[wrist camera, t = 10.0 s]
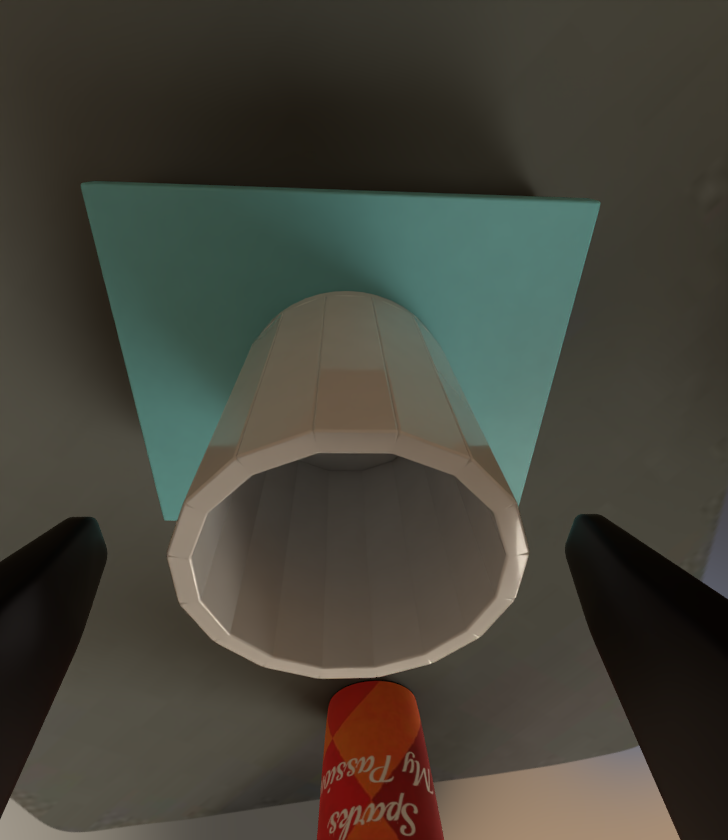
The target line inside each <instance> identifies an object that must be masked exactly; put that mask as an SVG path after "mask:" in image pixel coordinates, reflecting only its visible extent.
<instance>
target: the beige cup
mask: <svg viewBox="0 0 728 840" xmlns="http://www.w3.org/2000/svg"><path fill="white" fill-rule="evenodd" d="M528 557H529V546H528V542H527V538H526V534H525V531H524V527H523V523H522V519H521V515H520V511H519V508H518V504H517V501H516V499H515V497H514V495H513V493H512V491H511V489H510V487H509V485H508V483H507V481H506V479H505V477H504V475H503V473H502V471H501V469H500V467H499V465H498V462H497V460H496V458H495V456H494V454H493V452H492V450H491V448H490V446H489V444H488V442H487V440H486V438H485V436H484V434H483V432H482V430H481V428H480V426H479V424H478V421H477V419H476V417H475V415H474V413H473V411H472V409H471V407H470V405H469V403H468V401H467V399H466V397H465V395H464V393H463V391H462V389H461V387H460V385H459V382H458V380H457V378H456V376H455V374H454V372H453V370H452V368H451V366H450V364H449V362H448V360H447V358H446V356H445V354H444V352H443V350H442V348H441V346H440V344H439V343H438V342H437V341H436V340H435V338H434V337H433V335H432V334H431V332H430V331H429V330H428V328H427V327H426V326H425V325H424V324H423V323H422V322H421V321H420V320H419V319H418V318H417V317H416V316H415V315H414V314H412V313H411V312H410V311H408V310H407V309H405V308H404V307H402V306H401V305H399V304H397V303H395V302H393V301H391V300H388V299H386V298H383V297H380V296H378V295H373V294H369V293H364V292H355V291H335V292H328V293H323V294H318V295H315V296H312V297H308V298H305V299H303V300H301V301H299V302H297V303H295V304H292V305H291V306H289V307H288V308H286V309H285V310H283V311H282V312H280V313H279V314H278V315H277V316H276V317H274V318H273V319H272V320H271V321H270V322H269V323H268V324H267V325H266V327H265V328H264V329H263V330H262V331H261V333H260V334H259V336H258V338H257V339H256V340H255V341H254V342H253V344H252V346H251V348H250V350H249V353H248V355H247V357H246V360H245V362H244V364H243V366H242V369H241V371H240V373H239V376H238V378H237V380H236V383H235V385H234V387H233V389H232V392H231V394H230V396H229V399H228V401H227V403H226V406H225V408H224V410H223V412H222V415H221V417H220V419H219V422H218V424H217V426H216V429H215V431H214V433H213V435H212V438H211V440H210V442H209V445H208V447H207V449H206V452H205V454H204V456H203V458H202V461H201V463H200V465H199V468H198V470H197V472H196V475H195V477H194V479H193V481H192V484H191V486H190V488H189V491H188V493H187V495H186V498H185V500H184V502H183V505H182V508H181V511H180V514H179V517H178V519H177V522H176V525H175V528H174V531H173V534H172V537H171V540H170V543H169V546H168V549H167V560H168V564H169V568H170V572H171V576H172V580H173V583H174V587H175V591H176V595H177V599H178V602H179V603H180V606H181V607H182V608H183V609H184V610H185V611H186V612H187V613H188V614H189V615H190V617H191V618H192V619H193V620H194V621H195V622H196V623H197V624H198V625H199V626H200V627H201V629H202V630H203V631H204V632H205V633H206V634H207V635H208V636H209V637H210V638H211V640H213V641H215V643H217V644H219V645H221V646H223V647H225V648H227V649H229V650H230V651H232V652H234V653H236V654H238V655H240V656H242V657H244V658H246V659H248V660H250V661H252V662H254V663H256V664H258V665H259V666H263V667H265V668H269V669H274V670H279V671H283V672H288V673H293V674H298V675H302V676H307V677H312V678H316V679H317V678H320V679H339V678H375V677H382V676H385V675H389V674H393V673H397V672H401V671H405V670H409V669H413V668H417V667H421V666H425V665H429V664H431V663H434V662H436V661H438V660H440V659H442V658H443V657H445V656H447V655H449V654H451V653H453V652H454V651H456V650H458V649H460V648H462V647H463V646H465V645H467V644H469V643H471V642H473V641H474V640H476V639H478V638H479V637H480V636H482V635H483V634H484V633H485V632H486V631H487V630H488V628H489V627H490V626H491V625H492V624H493V623H494V622H495V621H496V620H497V619H498V618H499V616H500V615H501V614H502V613H503V612H504V611H505V610H506V609H507V608H508V607H509V606H510V605H511V603H512V602H513V601H514V599H515V598H516V595H517V592H518V589H519V586H520V582H521V579H522V576H523V573H524V569H525V566H526V563H527V560H528Z"/></svg>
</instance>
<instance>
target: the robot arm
mask: <svg viewBox="0 0 728 840" xmlns="http://www.w3.org/2000/svg"><path fill="white" fill-rule="evenodd" d="M565 554H566V559H567V562H568V565H569V568H570V571H571V574H572V577H573V581H574V584H575V587H576V590H577V593H578V596H579V599H580V603H581V606H582V609H583V612H584V615H585V618H586V621H587V624H588V627H589V630H590V633H591V635H592V637H593V640H594V642H595V645H596V647H597V649H598V652H599V654H600V656H601V658H602V661H603V663H604V665H605V668H606V670H607V672H608V675H609V677H610V679H611V681H612V684H613V686H614V688H615V691H616V693H617V695H618V697H619V700H620V702H621V704H622V707H623V709H624V711H625V714H626V716H627V718H628V720H629V723H630V725H631V727H632V730H633V732H634V734H635V737H636V739H637V741H638V743H639V746H640V748H641V750H642V753H643V755H644V757H645V759H646V762H647V764H648V766H649V769H650V771H651V773H652V776H653V778H654V780H655V782H656V785H657V787H658V789H659V792H660V794H661V796H662V798H663V801H664V803H665V805H666V808H667V810H668V812H669V814H670V817H671V819H672V821H673V824H674V826H675V828H676V830H677V833H678V835H679V837H680V839H681V840H728V599H727V598H725V597H724V596H722V595H721V594H719V593H718V592H716V591H715V590H713V589H712V588H710V587H708V586H707V585H706V584H704V583H703V582H701V581H700V580H698V579H697V578H695V577H694V576H692V575H691V574H689V573H688V572H686V571H685V570H683V569H682V568H680V567H679V566H677V565H676V564H674V563H673V562H671V561H670V560H668V559H667V558H665V557H664V556H662V555H661V554H659V553H658V552H656V551H655V550H653V549H652V548H650V547H648V546H647V545H645V544H644V543H642V542H641V541H639V540H638V539H636V538H635V537H633V536H632V535H630V534H629V533H627V532H626V531H624V530H623V529H621V528H620V527H618V526H617V525H615V524H614V523H612V522H611V521H609V520H608V519H606V518H605V517H603V516H602V515H599V514H580V515H578V516H577V517H576V518H575V520H574V522H573V525H572V528H571V531H570V533H569V536H568V539H567V542H566V545H565ZM106 561H107V548H106V545H105V542H104V539H103V536H102V533H101V530H100V527H99V525H98V522H97V520H96V519H95V518H93V517H70V518H67V519H66V520H64V521H62V522H61V523H59V524H58V525H56V526H55V527H53V528H52V529H50V530H49V531H47V532H46V533H44V534H42V535H41V536H39V537H38V538H36V539H35V540H33V541H32V542H30V543H29V544H27V545H26V546H24V547H22V548H21V549H19V550H18V551H16V552H15V553H13V554H12V555H10V556H9V557H7V558H6V559H4V560H2V561H1V562H0V818H1V816H2V814H3V812H4V809H5V807H6V805H7V803H8V800H9V798H10V796H11V794H12V792H13V789H14V787H15V785H16V783H17V781H18V778H19V776H20V774H21V772H22V769H23V767H24V765H25V763H26V761H27V758H28V756H29V754H30V752H31V749H32V747H33V745H34V743H35V741H36V738H37V736H38V734H39V732H40V730H41V727H42V725H43V723H44V721H45V718H46V716H47V714H48V712H49V710H50V707H51V705H52V703H53V701H54V698H55V696H56V694H57V692H58V690H59V687H60V685H61V683H62V681H63V678H64V676H65V674H66V672H67V670H68V667H69V665H70V663H71V661H72V658H73V656H74V654H75V652H76V649H77V647H78V644H79V642H80V639H81V637H82V634H83V631H84V628H85V625H86V622H87V619H88V616H89V613H90V610H91V607H92V604H93V601H94V598H95V595H96V592H97V589H98V586H99V582H100V579H101V576H102V573H103V570H104V567H105V564H106Z"/></svg>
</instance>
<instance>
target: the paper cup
mask: <svg viewBox="0 0 728 840" xmlns="http://www.w3.org/2000/svg"><path fill="white" fill-rule="evenodd" d="M317 840H444V837H443V831H442V826H441V821H440V816H439V811H438V806H437V801H436V796H435V791H434V785H433V780H432V775H431V770H430V765H429V760H428V755H427V749H426V744H425V739H424V734H423V730H422V725H421V720H420V715H419V711H418V707H417V703H416V699H415V697H414V695H413V694H412V692H411V691H410V690H408V689H407V688H405V687H403V686H401V685H399V684H396V683H392V682H386V681H366V682H360V683H356V684H353V685H350V686H347V687H345V688H343V689H341V690H340V691H338V692H337V693H336V694H335V695H334V696H333V697H332V698H331V700H330V703H329V707H328V714H327V723H326V734H325V745H324V757H323V769H322V782H321V795H320V808H319V821H318V833H317Z"/></svg>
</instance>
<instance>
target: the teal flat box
mask: <svg viewBox="0 0 728 840" xmlns="http://www.w3.org/2000/svg"><path fill="white" fill-rule="evenodd" d="M81 190H82V194H83V198H84V202H85V206H86V210H87V214H88V218H89V222H90V226H91V230H92V234H93V238H94V242H95V246H96V250H97V254H98V258H99V262H100V266H101V270H102V274H103V278H104V282H105V286H106V290H107V294H108V298H109V302H110V306H111V310H112V314H113V318H114V322H115V326H116V330H117V334H118V338H119V342H120V346H121V350H122V354H123V358H124V362H125V366H126V370H127V374H128V378H129V382H130V386H131V390H132V394H133V398H134V402H135V406H136V410H137V414H138V418H139V422H140V426H141V430H142V434H143V438H144V442H145V446H146V450H147V454H148V458H149V462H150V466H151V470H152V474H153V478H154V482H155V486H156V490H157V494H158V498H159V502H160V506H161V510H162V514H163V518H164V520H177V519H178V517H179V514H180V511H181V508H182V505H183V502H184V500H185V498H186V495H187V493H188V491H189V488H190V486H191V484H192V481H193V479H194V477H195V475H196V472H197V470H198V468H199V465H200V463H201V461H202V458H203V456H204V454H205V452H206V449H207V447H208V445H209V442H210V440H211V438H212V435H213V433H214V431H215V429H216V426H217V424H218V422H219V419H220V417H221V415H222V412H223V410H224V408H225V406H226V403H227V401H228V399H229V396H230V394H231V392H232V389H233V387H234V385H235V383H236V380H237V378H238V376H239V373H240V371H241V369H242V366H243V364H244V362H245V360H246V357H247V355H248V353H249V350H250V348H251V346H252V344H253V342H254V341H255V340H256V339H257V338H258V336H259V334H260V333H261V331H262V330H263V329H264V328H265V327H266V325H267V324H268V323H269V322H270V321H271V320H272V319H273V318H274V317H276V316H277V315H278V314H279V313H280V312H282V311H283V310H285V309H286V308H288V307H289V306H291V305H292V304H295V303H297V302H299V301H301V300H303V299H305V298H308V297H312V296H315V295H318V294H323V293H328V292H335V291H355V292H364V293H369V294H373V295H378V296H380V297H383V298H386V299H388V300H391V301H393V302H395V303H397V304H399V305H401V306H402V307H404V308H405V309H407V310H408V311H410V312H411V313H412V314H414V315H415V316H416V317H417V318H418V319H419V320H420V321H421V322H422V323H423V324H424V325H425V326H426V327H427V328H428V330H429V331H430V332H431V334H432V335H433V337H434V338H435V340H436V341H437V342H438V343H439V344H440V346H441V348H442V350H443V352H444V354H445V356H446V358H447V360H448V362H449V364H450V366H451V368H452V370H453V372H454V374H455V376H456V378H457V380H458V382H459V385H460V387H461V389H462V391H463V393H464V395H465V397H466V399H467V401H468V403H469V405H470V407H471V409H472V411H473V413H474V415H475V417H476V419H477V421H478V424H479V426H480V428H481V430H482V432H483V434H484V436H485V438H486V440H487V442H488V444H489V446H490V448H491V450H492V452H493V454H494V456H495V458H496V460H497V462H498V465H499V467H500V469H501V471H502V473H503V475H504V477H505V479H506V481H507V483H508V485H509V487H510V489H511V491H512V493H513V495H514V497H515V499H516V501H517V504H518V507H519V503H520V499H521V495H522V492H523V488H524V484H525V481H526V477H527V473H528V470H529V466H530V462H531V459H532V455H533V451H534V448H535V444H536V440H537V436H538V433H539V429H540V425H541V422H542V418H543V414H544V411H545V407H546V403H547V400H548V396H549V392H550V389H551V385H552V381H553V377H554V374H555V370H556V366H557V363H558V359H559V355H560V352H561V348H562V344H563V341H564V337H565V333H566V330H567V326H568V322H569V318H570V315H571V311H572V307H573V304H574V300H575V296H576V293H577V289H578V285H579V282H580V278H581V274H582V271H583V267H584V263H585V259H586V256H587V252H588V248H589V245H590V241H591V237H592V234H593V230H594V226H595V223H596V219H597V215H598V212H599V208H600V201H598V200H593V199H589V198H565V197H537V196H508V195H480V194H451V193H423V192H394V191H366V190H337V189H309V188H280V187H252V186H223V185H195V184H166V183H138V182H109V181H91V182H84V183H82V184H81Z"/></svg>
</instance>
